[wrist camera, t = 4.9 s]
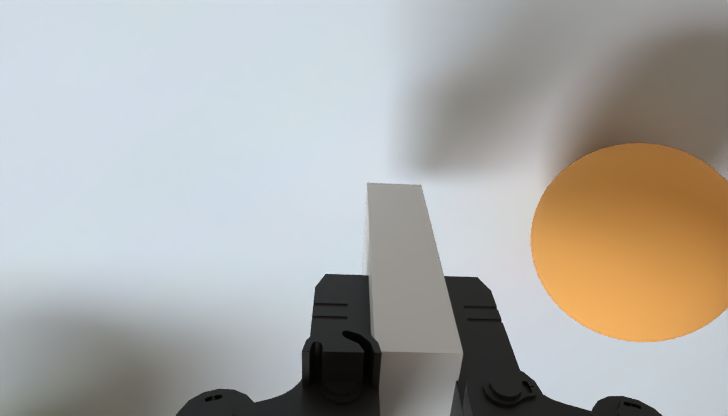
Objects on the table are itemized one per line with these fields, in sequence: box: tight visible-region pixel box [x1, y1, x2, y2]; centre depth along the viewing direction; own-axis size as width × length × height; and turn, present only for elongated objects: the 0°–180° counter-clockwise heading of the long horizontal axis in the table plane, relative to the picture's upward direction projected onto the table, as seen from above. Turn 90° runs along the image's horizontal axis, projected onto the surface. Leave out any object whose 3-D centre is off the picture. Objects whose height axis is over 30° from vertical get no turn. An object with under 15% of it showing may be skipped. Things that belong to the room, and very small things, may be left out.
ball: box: [531, 143, 728, 342], centre depth 15 cm, size 6×6×6 cm
